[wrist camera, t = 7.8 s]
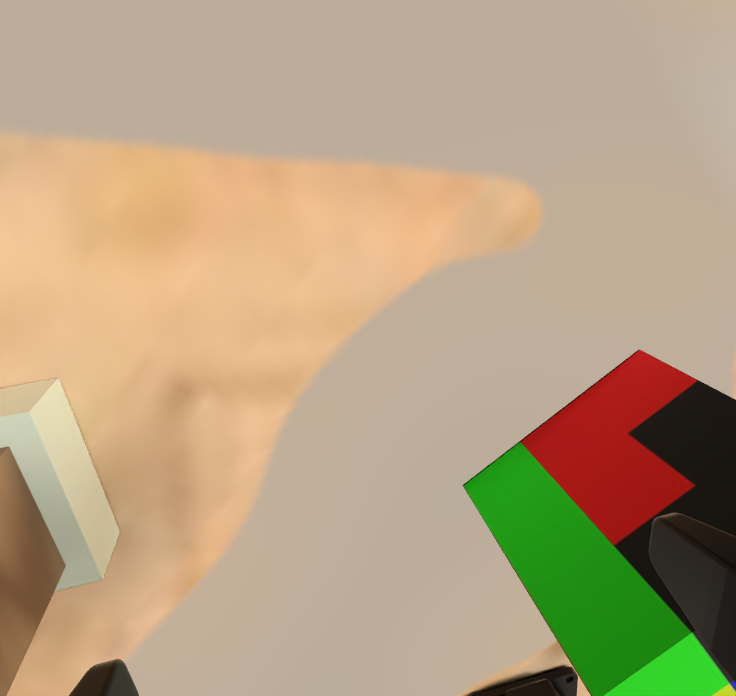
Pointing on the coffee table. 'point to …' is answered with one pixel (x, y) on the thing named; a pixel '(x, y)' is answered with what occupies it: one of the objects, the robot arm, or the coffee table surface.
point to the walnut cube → (22, 568)
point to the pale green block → (60, 477)
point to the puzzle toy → (617, 522)
